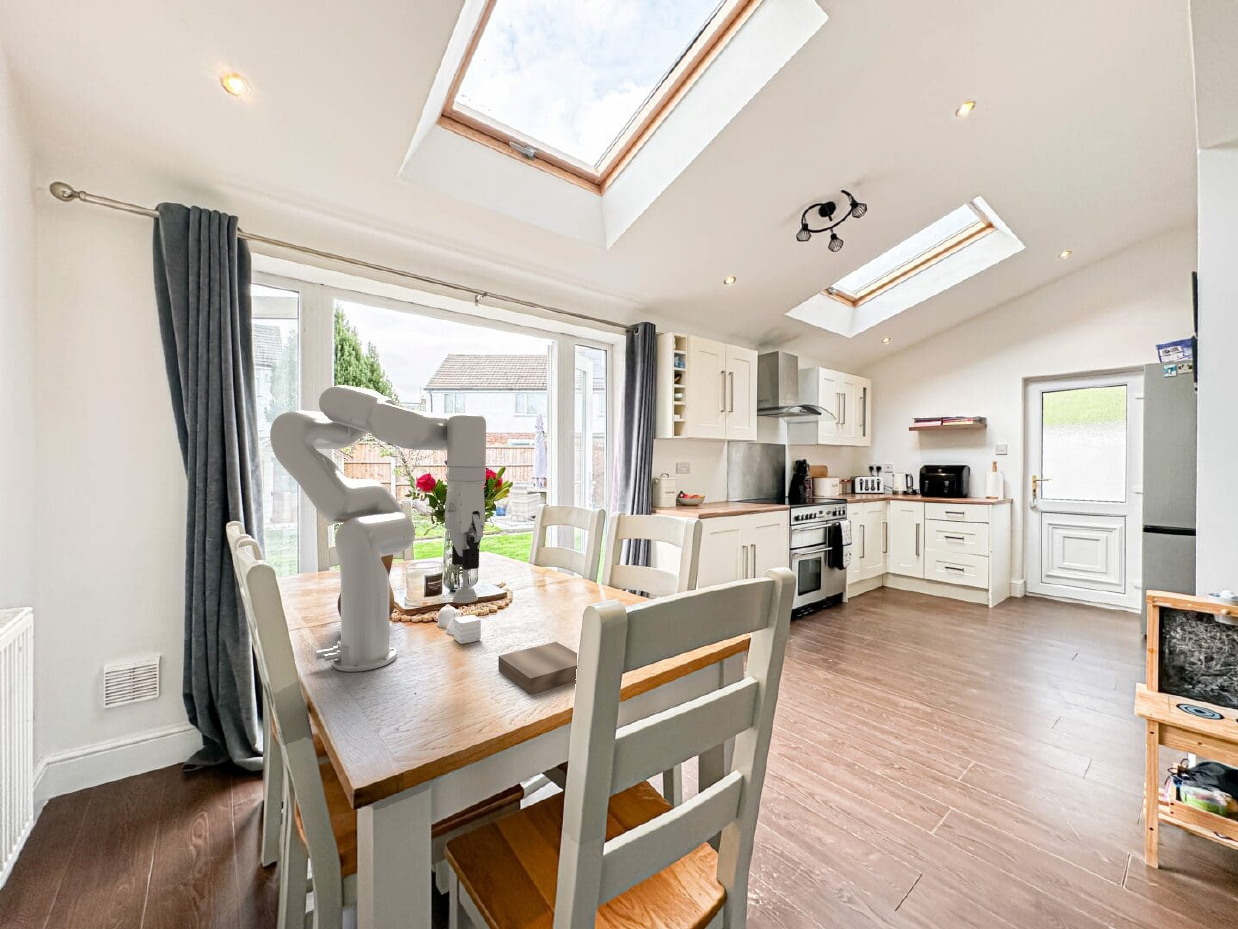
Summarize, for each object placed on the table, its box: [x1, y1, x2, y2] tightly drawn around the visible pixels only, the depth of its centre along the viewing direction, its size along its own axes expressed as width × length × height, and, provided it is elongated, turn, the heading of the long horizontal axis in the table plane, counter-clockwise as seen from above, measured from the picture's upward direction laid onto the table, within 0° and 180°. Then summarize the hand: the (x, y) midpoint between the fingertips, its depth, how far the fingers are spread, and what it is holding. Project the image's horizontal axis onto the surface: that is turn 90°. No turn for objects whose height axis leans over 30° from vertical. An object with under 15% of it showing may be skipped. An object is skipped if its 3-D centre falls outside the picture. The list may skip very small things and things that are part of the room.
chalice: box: [448, 510, 479, 604], centre depth 105 cm, size 7×7×18 cm
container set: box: [437, 604, 482, 645], centre depth 133 cm, size 20×5×6 cm, turn 36°
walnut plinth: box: [497, 641, 577, 695], centre depth 108 cm, size 14×14×3 cm
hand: (465, 565), depth 105 cm, fingers closed on chalice, 4 cm apart
